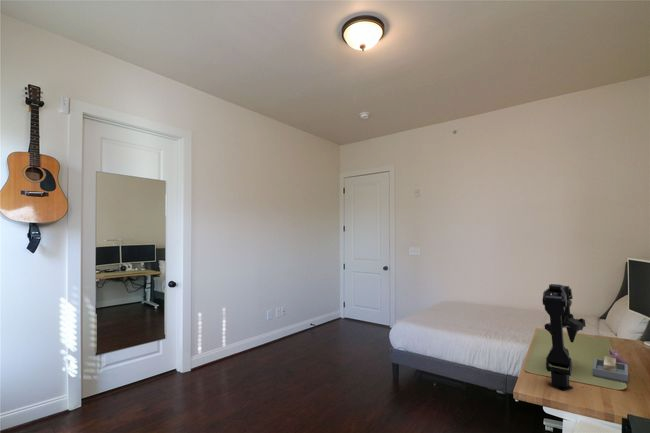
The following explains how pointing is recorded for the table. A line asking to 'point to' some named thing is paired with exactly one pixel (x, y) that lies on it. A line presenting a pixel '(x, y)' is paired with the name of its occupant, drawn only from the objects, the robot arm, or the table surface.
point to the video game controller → (617, 356)
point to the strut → (610, 364)
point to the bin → (619, 375)
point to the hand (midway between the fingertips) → (565, 343)
